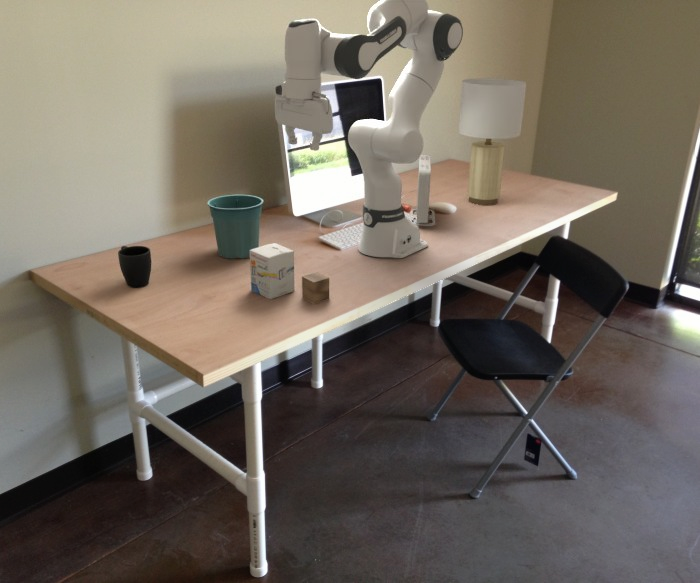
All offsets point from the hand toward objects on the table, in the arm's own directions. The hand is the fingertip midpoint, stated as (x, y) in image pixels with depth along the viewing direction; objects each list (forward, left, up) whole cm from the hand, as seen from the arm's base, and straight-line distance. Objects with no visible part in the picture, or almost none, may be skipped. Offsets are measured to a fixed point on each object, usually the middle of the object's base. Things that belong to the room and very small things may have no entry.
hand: (303, 147), depth 171 cm
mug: (+36, -29, -37) cm, 59 cm away
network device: (-68, -23, -37) cm, 80 cm away
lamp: (-102, -24, -37) cm, 111 cm away
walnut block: (+4, +10, -37) cm, 39 cm away
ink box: (+10, -1, -37) cm, 39 cm away
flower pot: (+2, -32, -37) cm, 49 cm away
